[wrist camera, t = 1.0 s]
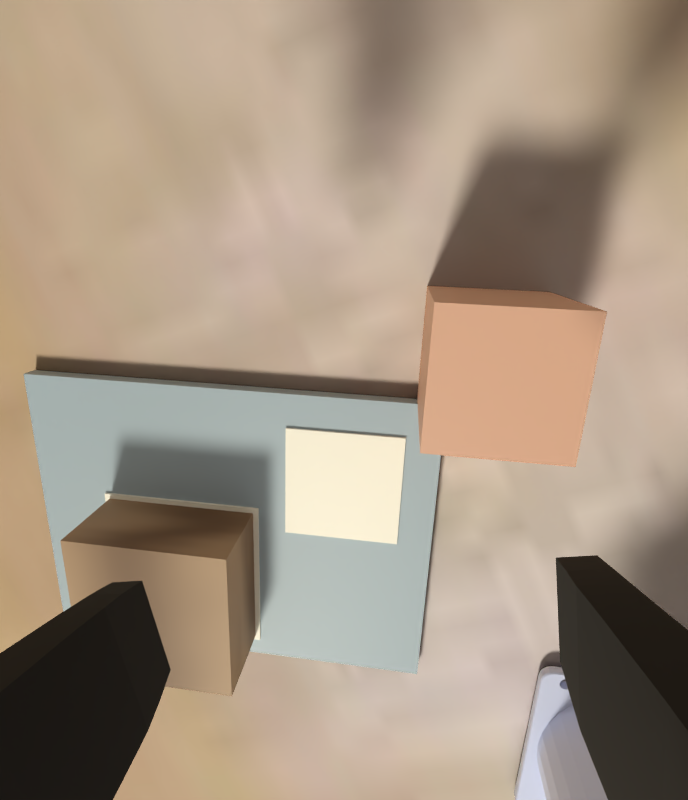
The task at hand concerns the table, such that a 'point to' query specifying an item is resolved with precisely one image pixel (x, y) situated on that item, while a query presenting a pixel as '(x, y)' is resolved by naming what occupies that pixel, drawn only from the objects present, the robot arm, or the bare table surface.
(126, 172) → the table surface
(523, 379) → the terracotta block
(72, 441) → the board
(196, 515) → the walnut block
